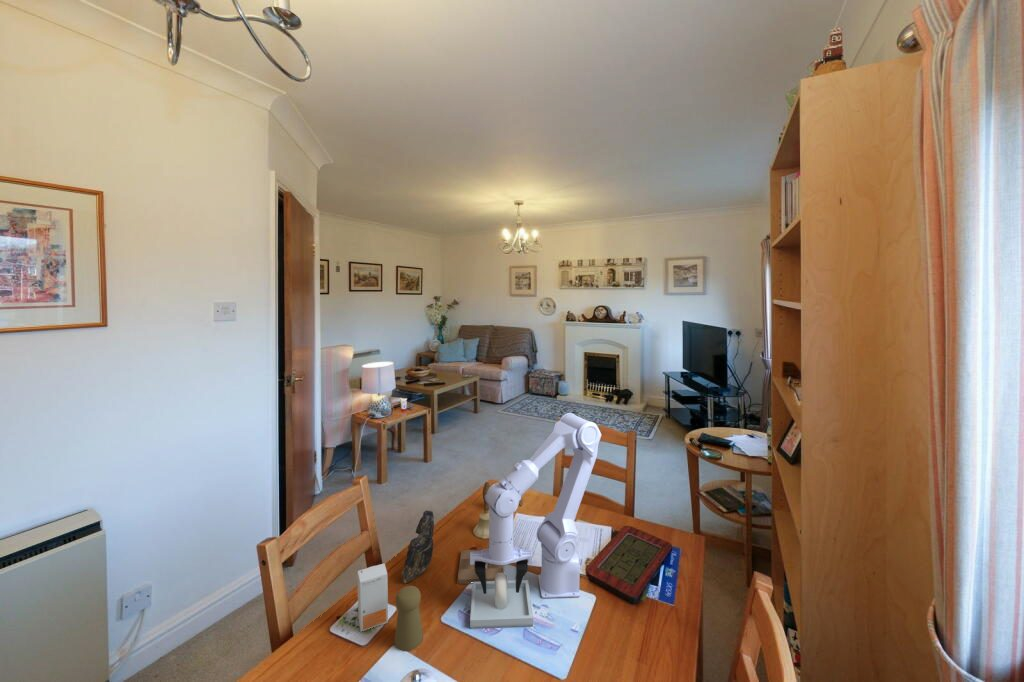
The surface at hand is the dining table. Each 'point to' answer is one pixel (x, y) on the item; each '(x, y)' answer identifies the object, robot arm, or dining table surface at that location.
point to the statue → (420, 549)
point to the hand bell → (483, 518)
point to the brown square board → (468, 571)
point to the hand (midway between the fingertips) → (501, 590)
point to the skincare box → (372, 597)
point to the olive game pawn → (408, 619)
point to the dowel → (500, 590)
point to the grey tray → (511, 616)
